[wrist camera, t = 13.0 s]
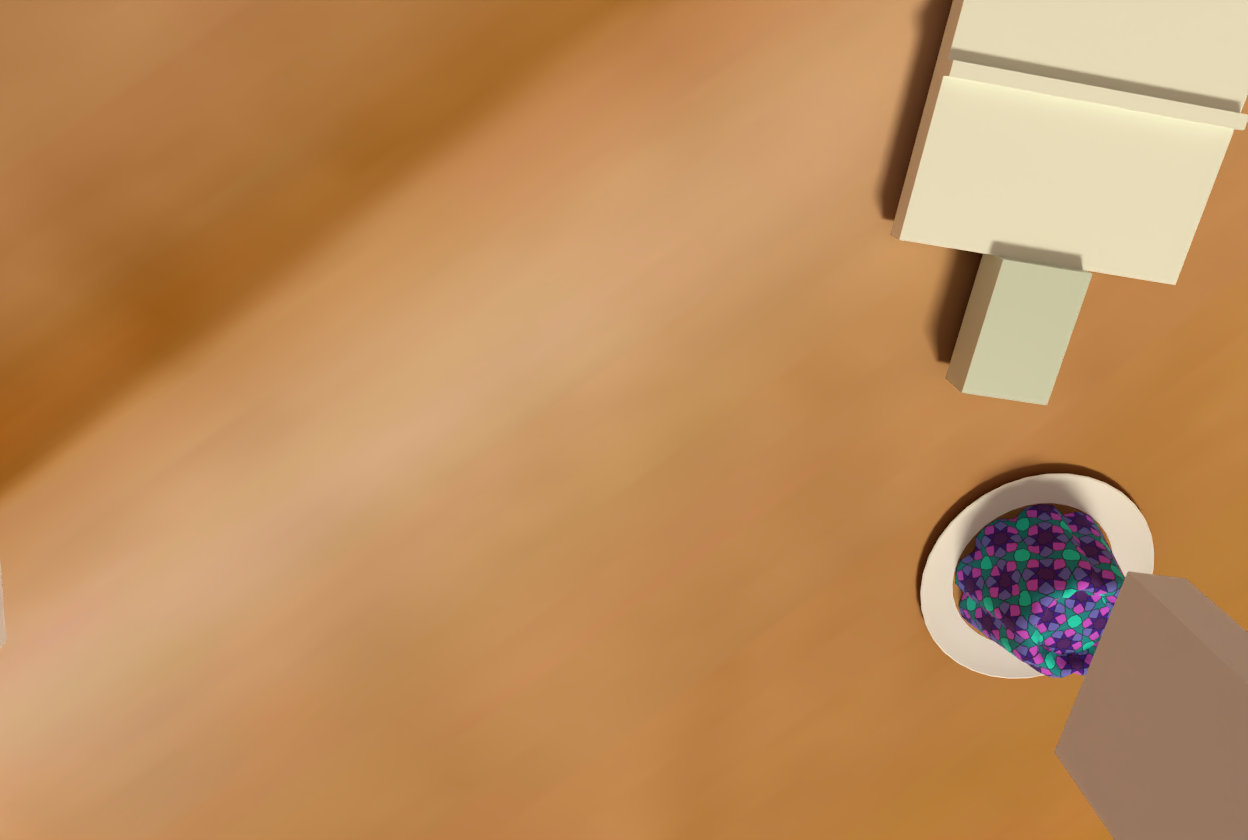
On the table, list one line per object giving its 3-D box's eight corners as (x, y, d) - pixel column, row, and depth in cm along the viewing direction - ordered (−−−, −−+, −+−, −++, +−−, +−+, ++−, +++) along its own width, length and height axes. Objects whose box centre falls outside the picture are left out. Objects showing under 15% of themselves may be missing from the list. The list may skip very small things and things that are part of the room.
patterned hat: (873, 550, 48) (907, 607, 43) (1088, 422, 46) (1149, 466, 41) (979, 706, 52) (1021, 774, 47) (1181, 594, 50) (1247, 653, 45)
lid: (849, 358, 44) (868, 379, 41) (1029, -326, 35) (1069, -358, 32) (1102, 395, 46) (1136, 418, 43) (1340, -253, 36) (1404, -279, 33)
